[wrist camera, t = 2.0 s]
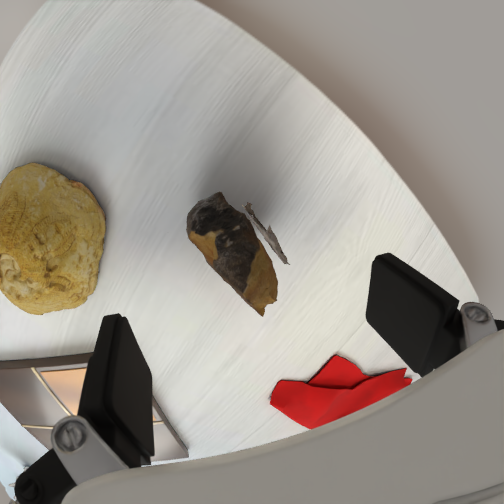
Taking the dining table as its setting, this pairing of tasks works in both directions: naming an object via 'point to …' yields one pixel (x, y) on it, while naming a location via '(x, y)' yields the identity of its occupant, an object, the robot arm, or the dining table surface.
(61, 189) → the fossil
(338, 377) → the cloth
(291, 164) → the dining table surface
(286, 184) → the dining table surface
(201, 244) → the rock
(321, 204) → the dining table surface
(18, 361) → the board
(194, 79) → the dining table surface
